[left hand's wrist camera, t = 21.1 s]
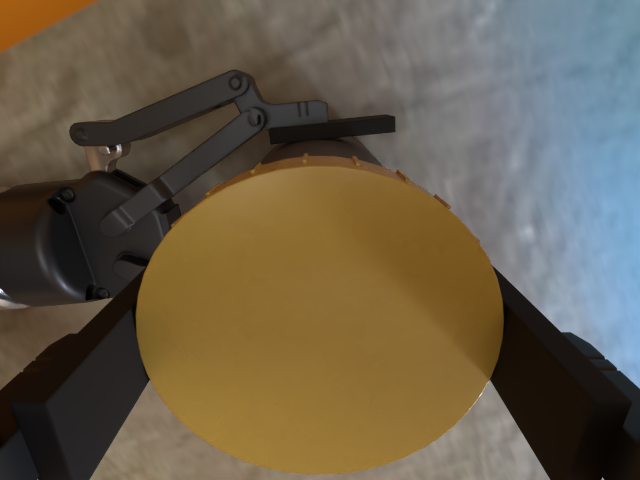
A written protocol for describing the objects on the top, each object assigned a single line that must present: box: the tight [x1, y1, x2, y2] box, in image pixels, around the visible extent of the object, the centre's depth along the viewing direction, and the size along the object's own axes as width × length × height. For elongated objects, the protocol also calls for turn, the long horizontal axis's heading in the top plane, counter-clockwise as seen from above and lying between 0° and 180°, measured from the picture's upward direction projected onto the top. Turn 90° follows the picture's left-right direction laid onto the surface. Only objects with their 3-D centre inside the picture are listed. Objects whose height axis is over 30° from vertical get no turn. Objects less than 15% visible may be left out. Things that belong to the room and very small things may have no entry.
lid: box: [136, 153, 504, 475], centre depth 11 cm, size 11×11×2 cm
